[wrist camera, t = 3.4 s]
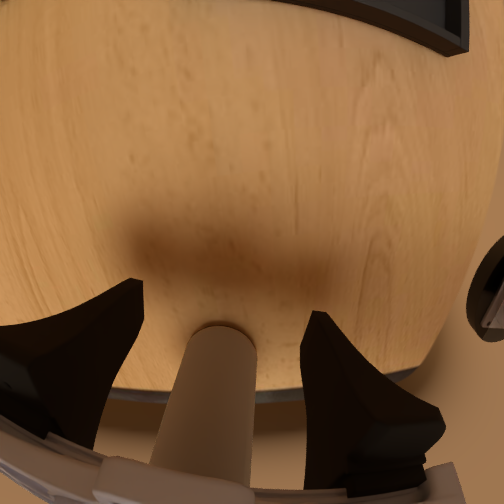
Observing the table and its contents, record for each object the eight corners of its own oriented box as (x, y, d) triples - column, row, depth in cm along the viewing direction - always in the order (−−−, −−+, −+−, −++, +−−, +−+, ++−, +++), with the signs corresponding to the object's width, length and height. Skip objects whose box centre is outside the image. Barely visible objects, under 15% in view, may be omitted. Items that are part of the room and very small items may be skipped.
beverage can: (189, 367, 21) (150, 515, 10) (186, 316, 19) (126, 489, 8) (254, 374, 21) (244, 530, 10) (261, 324, 19) (251, 511, 8)
